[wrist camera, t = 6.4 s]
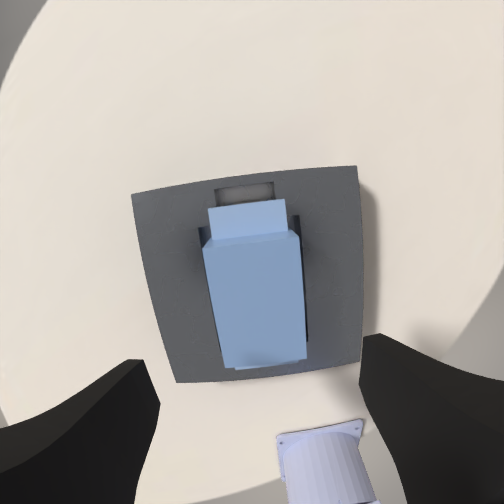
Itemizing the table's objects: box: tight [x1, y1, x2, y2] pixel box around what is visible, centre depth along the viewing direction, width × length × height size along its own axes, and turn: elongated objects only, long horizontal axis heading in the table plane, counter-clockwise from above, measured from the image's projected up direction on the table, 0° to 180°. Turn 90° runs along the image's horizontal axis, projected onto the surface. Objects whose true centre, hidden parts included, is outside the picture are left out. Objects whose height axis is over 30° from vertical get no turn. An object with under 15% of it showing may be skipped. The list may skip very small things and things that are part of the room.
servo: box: [202, 199, 307, 370], centre depth 14 cm, size 9×4×5 cm, turn 7°
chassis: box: [131, 166, 363, 383], centre depth 16 cm, size 12×12×2 cm
